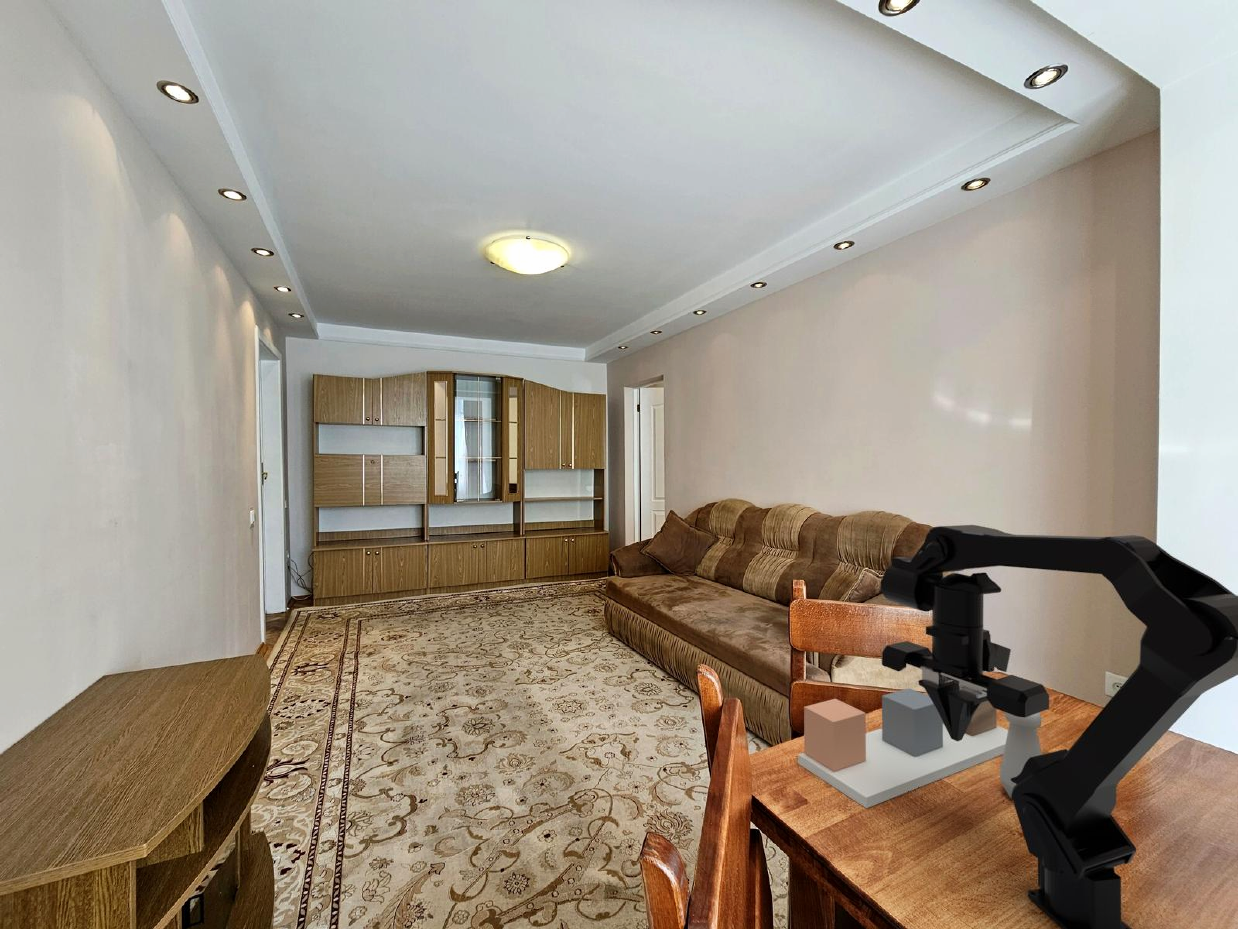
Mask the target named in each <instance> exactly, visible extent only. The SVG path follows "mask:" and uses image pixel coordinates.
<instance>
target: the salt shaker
mask: <svg viewBox="0 0 1238 929" xmlns="http://www.w3.org/2000/svg"><path fill="white" fill-rule="evenodd" d="M1004 716H1005V720H1006V722H1008V723H1009V726H1008V729H1007V730H1008V734H1007V739H1006V744H1005V749H1004V754H1002V759H1001V764H1000V769H999V774H998V775H999V780H1000V781H1001V784H1002V786H1003V787H1004V789H1005V790H1006V791H1005V792H1006V793H1007V794H1008V798H1010V799H1011V792H1012V790H1013V787H1014V786H1015V785H1016V783H1014V782H1012V781H1011V778H1014V777H1017V776H1018V775H1019V774H1020V773H1021V772H1022V770H1023V767H1024V765H1025V763H1026V762H1027V760H1028V759H1029V758H1030V757H1034V756H1038V755H1042V754H1043V753H1042V747H1041V743H1040V740H1039V738H1040V737H1039V733H1038V730H1037V729H1040V728H1041V726H1042V714H1041V712H1039V713H1036V714H1034V715H1031V716H1028V717H1026V718H1024V717H1017V716H1014V715H1011V714H1009V713H1006V712H1004Z"/></svg>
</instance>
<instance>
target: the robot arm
mask: <svg viewBox="0 0 1238 929" xmlns="http://www.w3.org/2000/svg"><path fill="white" fill-rule="evenodd" d="M915 553H916V554H915V555H914V556H913V558H910V557H908V556H907V557H906V556H897V557H896V556H895V557H894V556H893V557H892V558H891V564H892V565H890V566H889V567H887V569H886V570H885V571H884V573H883V574H882V578H881V579H880V590H881V594H882V595H883V596H884V598H885V599H886V600H888V601H889V602H891V603H895V604H898V605H901V606H905V607H908V608H911V609H914V610H917V611H921V612H930V611H932V612H931V615H932V616H931V620H932V622H931V625H928V626H925V635H927V636H930V637H931V650H930V648H929V647H927V646H924V645H920V644H918V643H914V642H911V641H907V640H906V641H901V642H896V643H891V644H887V645H885V647H884V648H883V649H882V651H881V666H883V667H886V668H888V669H891V670H894V671H896V672H901V671H903V670H905V669H906V668H907V665H908V666H909V665H910V666H912V667H915V668H917V669H920V670H921V674H922V675H921V679H919V680H917V681H918V686H920V687H922V688H924V690H925V692H926V694H927V695H928V696H929V697H930V698H931V700H932V702H933V704H934V705H935V707H936V709H937V711H938V713H939V715H940V717H941V719H942V721H943V723H944V725H945V727H946V729H947V731H948V733H949V735H950V737H951V739H953V740H955V741H960V740H962V738H963V736H964V734H965V732H966V730H967V728H968V725H969V723H970V721H971V719H972V717H973V715H974V713H975V711H976V710H977V708H978V707H979V705H980V704H981V703H982V702H985V701H989V702H990V704H991V705H992V706H993V708H996V710H998V711H1002V712H1003V713H1005V712H1006V713H1009V714H1011V715H1014V716H1017V717H1024V718H1026V717H1028V716H1031V715H1034V714H1036V713H1042V712H1044V711H1046V710H1049V709H1050V694H1049V693H1048V691H1047V689H1046V688H1045V686H1044V685H1043V684H1042V683H1039V682H1036V681H1033V680H1029V679H1026V678H1024V677H1020V676H1017V675H1014V674H1009V675H1006V676H1003V677H1000V678H995V677H991V676H988V675H985V674H984V672H987V673H991V672H995V668H996V670H997V671H1001V672H1004V673H1007V672H1008V666H1009V663H1010V662H1009V661H1010V655H1011V652H1012V649H1011V648H1008V647H1006V646H1003V645H1000V644H997V643H995V642H992V641H991V636H992V635H991V633H990V630H987V629H985V628H984V595H991V594H999V593H1001V592H1002V588H1001V587H1000V585H998V584H997V582H995V581H994V580H993V579H991V578H990V577H989V575H988V574H987V572H976V573H971V575H967V574H962V573H958V572H960V571H964V570H973V569H983V568H984V569H985V568H994V567H1008V568H1009V567H1010V568H1023V569H1033V570H1034V569H1035V570H1046V571H1057V572H1058V571H1060V572H1069V573H1071V572H1072V573H1084V574H1096V575H1097V574H1098V575H1102V577H1104V578H1105V579H1107V580H1108V582H1110V583H1111V585H1112V586H1113V588H1114V589H1115V591H1116V593H1117V594H1118V596H1119V598H1120V599H1121V601H1122V602H1123V604H1124V605H1125V607H1126V609H1127V610H1128V611H1129V612H1130V613H1131V614H1132V615H1133V616H1135V617H1136V618H1137V620H1139V621H1140V622H1141V623H1142V624H1143V625H1145V626H1146V627H1145V629H1144V631H1143V634H1142V636H1141V638H1140V641H1139V662H1138V665H1137V667H1136V669H1135V670H1133V672H1132V673H1131V675H1130V676H1128V678H1127V679H1126V681H1124V683H1123V684H1122V685H1121V687H1119V689H1118V690H1117V691H1116V692H1115V694H1114V695H1113V696H1112V697H1111V699H1109V701H1108V702H1107V703H1106V705H1105V706H1103V708H1102V709H1101V711H1100V712H1099V713H1098V714H1097V715H1096V717H1094V719H1093V720H1092V722H1091V723H1090V724H1088V726H1087V728H1086V729H1085V730H1084V731H1083V732H1082V734H1080V736H1079V737H1078V738H1077V739H1076V741H1075V742H1074V743H1073V744H1072V746H1071V747H1070V748H1069V749H1066V748H1064V749H1058V750H1055V751H1051V752H1047V753H1044V754H1043V753H1042V755H1038V756H1034V757H1030V758H1029V759H1028V760H1027V762H1026V763H1025V765H1024V767H1023V770H1022V772H1021V773H1020V774H1019V775H1018V776H1017V777H1014V778H1011V781H1012V782H1014V783H1016V785H1015V786H1014V787H1013V790H1012V792H1011V798H1010V800H1011V801H1012V802H1013V805H1014V809H1015V812H1016V815H1017V818H1018V821H1019V825H1020V828H1021V831H1022V834H1023V838H1024V841H1025V844H1026V848H1027V851H1028V853H1029V854H1030V855H1031V856H1034V858H1036V859H1037V885H1038V887H1039V888H1037V889H1028V890H1027V897H1028V898H1029V899H1030V900H1031V901H1032V902H1034V903H1035V904H1036V905H1037V906H1038V908H1040V909H1041V910H1042V911H1043V912H1044V913H1045V914H1047V916H1049V917H1050V919H1051V920H1053V921H1054V922H1055V923H1056V924H1058V925H1059V927H1061V928H1062V929H1132V928H1131V927H1130V926H1129V925H1128V924H1127V923H1125V922H1124V921H1123V920H1122V877H1121V876H1120V875H1118V874H1117V873H1116V872H1115V867H1118V866H1120V865H1123V864H1124V865H1127V864H1130V863H1131V862H1132V859H1133V858H1134V856H1135V855H1136V853H1137V848H1136V846H1135V845H1134V843H1133V841H1132V840H1131V839H1130V838H1129V836H1128V835H1127V834H1126V833H1125V831H1124V829H1122V827H1121V825H1120V824H1119V823H1118V822H1117V820H1116V819H1115V818H1114V816H1113V815H1112V813H1113V811H1114V809H1115V807H1116V805H1117V786H1118V785H1119V783H1120V782H1121V781H1122V780H1123V779H1124V778H1125V777H1126V775H1127V774H1128V773H1130V771H1131V770H1132V769H1133V768H1134V767H1135V766H1136V765H1137V764H1138V763H1139V762H1140V761H1141V760H1142V758H1143V757H1145V755H1146V754H1147V753H1148V752H1149V751H1150V750H1151V749H1152V748H1153V747H1154V745H1155V744H1156V743H1158V742H1159V740H1161V738H1162V737H1163V736H1164V735H1165V734H1166V733H1168V731H1169V730H1170V728H1172V726H1173V725H1174V724H1175V723H1176V722H1177V721H1178V720H1179V719H1180V718H1181V717H1182V716H1183V715H1184V714H1185V712H1187V710H1189V708H1190V707H1192V705H1194V703H1195V702H1196V701H1197V700H1198V699H1199V698H1200V696H1202V695H1203V694H1204V693H1206V692H1207V691H1209V690H1211V689H1213V688H1215V687H1217V686H1219V685H1221V684H1222V683H1225V682H1226V681H1229V680H1231V679H1232V678H1234V677H1236V676H1238V595H1237V594H1234V592H1232V591H1231V590H1230V589H1228V588H1227V587H1225V586H1224V585H1223V584H1222V583H1221V582H1218V581H1217V580H1216V579H1214V578H1213V577H1211V576H1209V575H1207V574H1205V573H1204V572H1202V571H1200V570H1199V569H1196V568H1194V567H1193V566H1192V565H1189V564H1187V563H1185V562H1183V560H1180V559H1178V558H1177V557H1175V556H1173V555H1171V554H1170V553H1168V552H1167V551H1166V550H1165V549H1163V548H1162V547H1161V546H1160V545H1158V544H1156V542H1154V541H1152V540H1151V539H1149V538H1146V537H1145V536H1141V535H1134V534H1133V535H1118V536H1085V535H1084V536H1081V535H1075V536H1074V535H1043V534H1041V535H1040V534H1039V535H1037V534H1013V533H1008V532H1004V531H1002V530H999V529H996V528H992V527H991V528H990V527H986V526H981V525H975V524H964V525H963V524H960V525H943V526H942V525H939V526H933V527H932V528H930V529H929V530H928V532H927V534H926V536H925V539H924V542H923V543H922V544H921V546H920V548H919V549H918V550H917V552H915ZM950 572H951V573H950ZM952 572H953V573H952ZM956 572H957V573H956ZM944 573H949V574H947V575H946V576H944ZM969 678H971V679H969Z"/></svg>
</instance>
